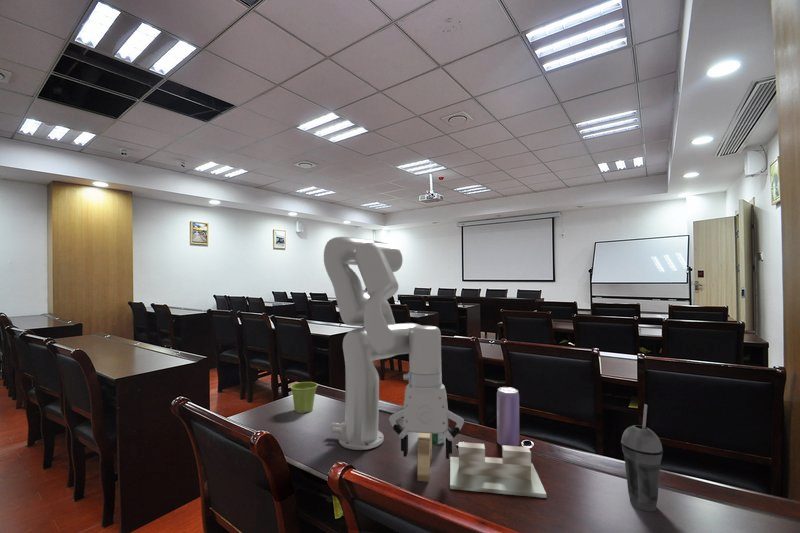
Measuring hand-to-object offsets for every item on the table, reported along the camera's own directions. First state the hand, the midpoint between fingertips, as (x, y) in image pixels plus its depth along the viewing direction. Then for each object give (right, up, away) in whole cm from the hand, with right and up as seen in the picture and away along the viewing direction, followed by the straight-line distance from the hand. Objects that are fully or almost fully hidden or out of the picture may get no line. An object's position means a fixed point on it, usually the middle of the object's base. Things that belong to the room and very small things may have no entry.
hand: (426, 455), depth 82 cm
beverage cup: (+43, -5, -9) cm, 45 cm away
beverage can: (+24, -7, +18) cm, 31 cm away
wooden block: (0, -5, +4) cm, 7 cm away
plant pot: (-40, -7, +42) cm, 59 cm away
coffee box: (+3, -6, +20) cm, 21 cm away
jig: (+16, -5, 0) cm, 17 cm away
